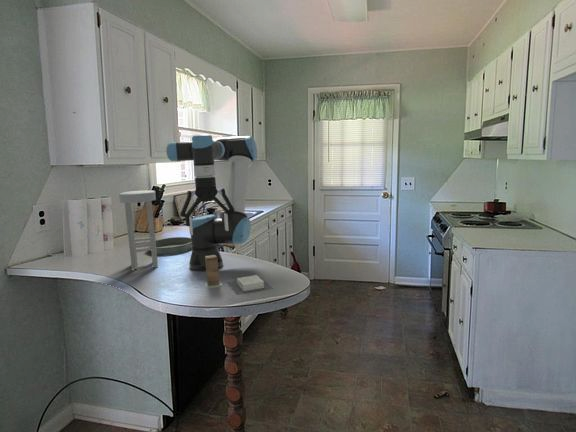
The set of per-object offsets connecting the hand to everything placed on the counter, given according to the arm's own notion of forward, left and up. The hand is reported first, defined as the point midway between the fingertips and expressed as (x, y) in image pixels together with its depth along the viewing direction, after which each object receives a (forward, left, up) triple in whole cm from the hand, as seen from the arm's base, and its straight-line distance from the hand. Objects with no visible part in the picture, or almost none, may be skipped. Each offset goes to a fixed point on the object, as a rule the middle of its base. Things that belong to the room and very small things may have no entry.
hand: (209, 232), depth 158 cm
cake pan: (-73, -8, -22) cm, 77 cm away
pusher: (0, 0, -20) cm, 21 cm away
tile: (+4, +12, -20) cm, 24 cm away
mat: (+8, +12, -22) cm, 26 cm away
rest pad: (0, 0, -22) cm, 22 cm away
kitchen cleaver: (-70, +21, -22) cm, 76 cm away
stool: (-46, -23, -22) cm, 56 cm away
